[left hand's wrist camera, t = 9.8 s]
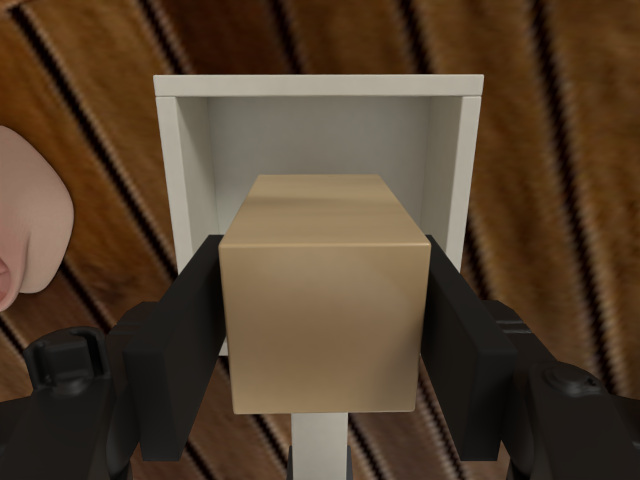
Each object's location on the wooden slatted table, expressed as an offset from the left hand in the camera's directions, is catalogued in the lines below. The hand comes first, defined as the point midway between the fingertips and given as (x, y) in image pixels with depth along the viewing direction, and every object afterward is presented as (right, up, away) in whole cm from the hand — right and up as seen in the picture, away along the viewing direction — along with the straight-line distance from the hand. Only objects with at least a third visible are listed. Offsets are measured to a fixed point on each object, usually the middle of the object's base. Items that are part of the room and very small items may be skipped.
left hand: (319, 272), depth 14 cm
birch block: (0, +1, +4) cm, 4 cm away
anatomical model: (-26, +3, +20) cm, 33 cm away
